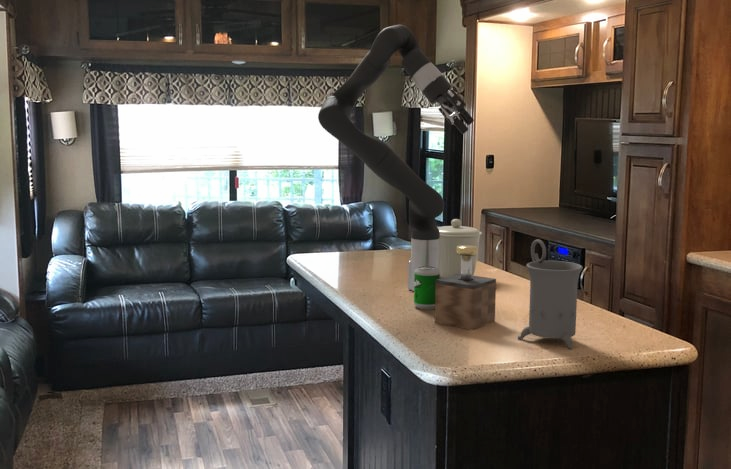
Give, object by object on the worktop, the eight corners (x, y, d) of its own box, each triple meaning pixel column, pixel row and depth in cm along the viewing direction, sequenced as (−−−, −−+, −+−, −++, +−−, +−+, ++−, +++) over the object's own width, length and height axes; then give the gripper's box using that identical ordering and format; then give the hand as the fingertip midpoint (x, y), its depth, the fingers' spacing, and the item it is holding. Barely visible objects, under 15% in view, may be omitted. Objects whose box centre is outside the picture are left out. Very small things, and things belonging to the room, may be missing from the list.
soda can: (441, 305, 236) (442, 266, 235) (435, 311, 229) (436, 270, 228) (417, 303, 239) (418, 264, 237) (410, 309, 232) (411, 269, 230)
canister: (422, 280, 274) (423, 220, 271) (437, 271, 290) (438, 215, 287) (473, 284, 267) (475, 223, 264) (485, 275, 284) (487, 217, 281)
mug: (596, 346, 194) (601, 246, 190) (546, 353, 188) (550, 250, 185) (552, 328, 211) (556, 236, 207) (504, 333, 206) (507, 239, 202)
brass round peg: (451, 290, 215) (452, 247, 213) (462, 287, 219) (463, 244, 218) (469, 293, 212) (470, 249, 210) (479, 289, 216) (481, 246, 214)
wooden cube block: (434, 322, 216) (435, 279, 214) (457, 314, 225) (458, 273, 224) (472, 330, 209) (474, 285, 207) (494, 321, 218) (496, 278, 216)
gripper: (418, 99, 225) (453, 142, 224) (424, 82, 211) (462, 128, 210) (438, 84, 226) (474, 127, 225) (445, 66, 212) (483, 111, 211)
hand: (468, 127), depth 217 cm, fingers open, 8 cm apart
